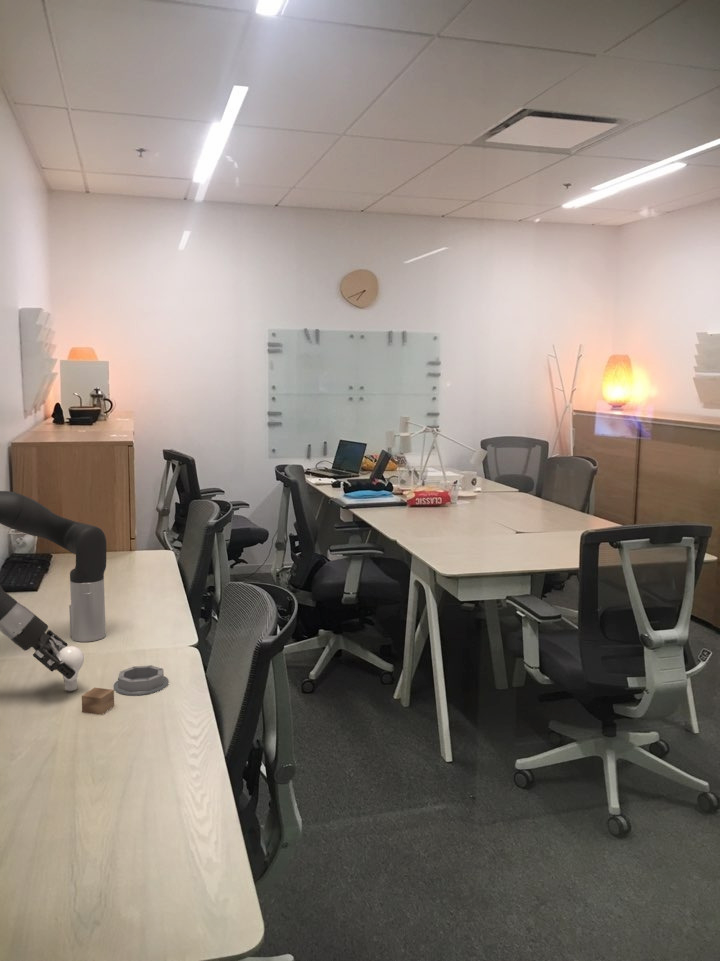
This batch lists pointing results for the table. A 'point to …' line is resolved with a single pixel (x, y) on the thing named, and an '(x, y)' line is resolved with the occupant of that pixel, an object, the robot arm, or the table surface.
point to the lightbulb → (72, 664)
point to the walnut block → (97, 701)
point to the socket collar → (140, 680)
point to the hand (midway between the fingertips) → (75, 669)
